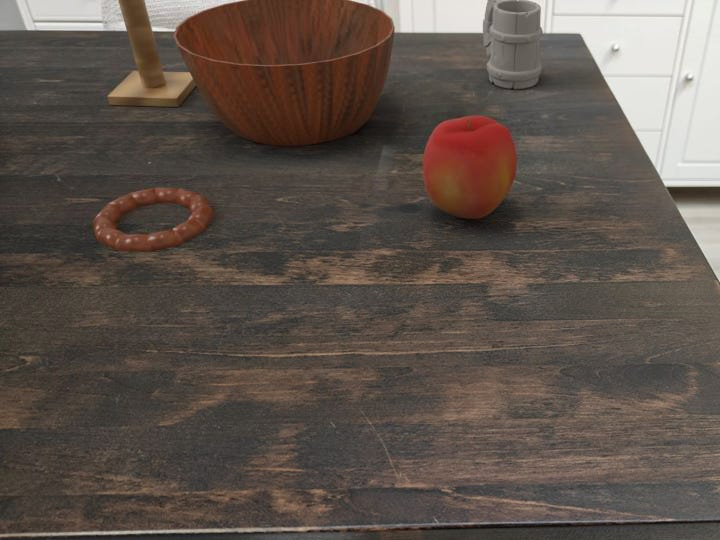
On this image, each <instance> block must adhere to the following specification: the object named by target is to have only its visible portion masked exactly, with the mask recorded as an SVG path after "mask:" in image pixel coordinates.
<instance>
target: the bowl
mask: <svg viewBox="0 0 720 540" xmlns="http://www.w3.org/2000/svg"><path fill="white" fill-rule="evenodd" d="M395 28H396V27H395V23H394V20H393V18H392V17H390V15H388V13H386V12H385V11H384V10H381V9H380V8H377V7H374V6H373V5H370V4H367V3H363V2H359V1H355V0H237V1H232V2H228V3H223V4H220V5H217V6H213V7H210V8H206V9H203V10H201V11H199V12H197V13H195V14H193V15H191V16H189V17H187V18H185V19H184V20H183V21H182V22H180V23H179V24H177V26H176V27H175V30H174V33H173V35H172V36H173V40H174V42H175V45H176V46H177V49H178V51H179V53H180V55H181V58H182V60H183V62H184V65H185V66H186V68H187V70H188V72H190V74H191V76H192V78H193V80H194V82H195V84H196V86H195V87H196V88H197V89H198V91H199V93H200V95H201V96H202V98H203V99H204V101H205V103H206V104H207V106H208V107H209V109H210V110H211V112H212V113H213V115H214V116H215V117H216V118H217V119H218V120H219V121H220V122H221V124H222V125H224V126H225V127H226V128H227V129H228V130H230V131H231V132H232V133H234V134H235V135H237V136H238V137H239V138H242V139H245V140H247V141H250V142H252V143H258V144H262V145H267V146H280V147H294V146H296V147H297V146H311V145H316V144H321V143H328V142H331V141H334V140H337V139H341V138H344V137H348V136H350V135H351V136H352V135H353V134H354V133H356V132H357V131H358V130H359V129H360V128H362V127H363V126H364V125H365V124H366V123H367V122H368V121H369V120H370V118H371V117H372V115H373V113H374V111H375V110H376V107H377V105H378V102H379V100H380V98H381V96H382V92H383V90H384V87H385V84H386V80H387V76H388V72H389V68H390V64H391V63H390V62H391V58H392V51H393V44H394V38H395Z"/></svg>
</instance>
